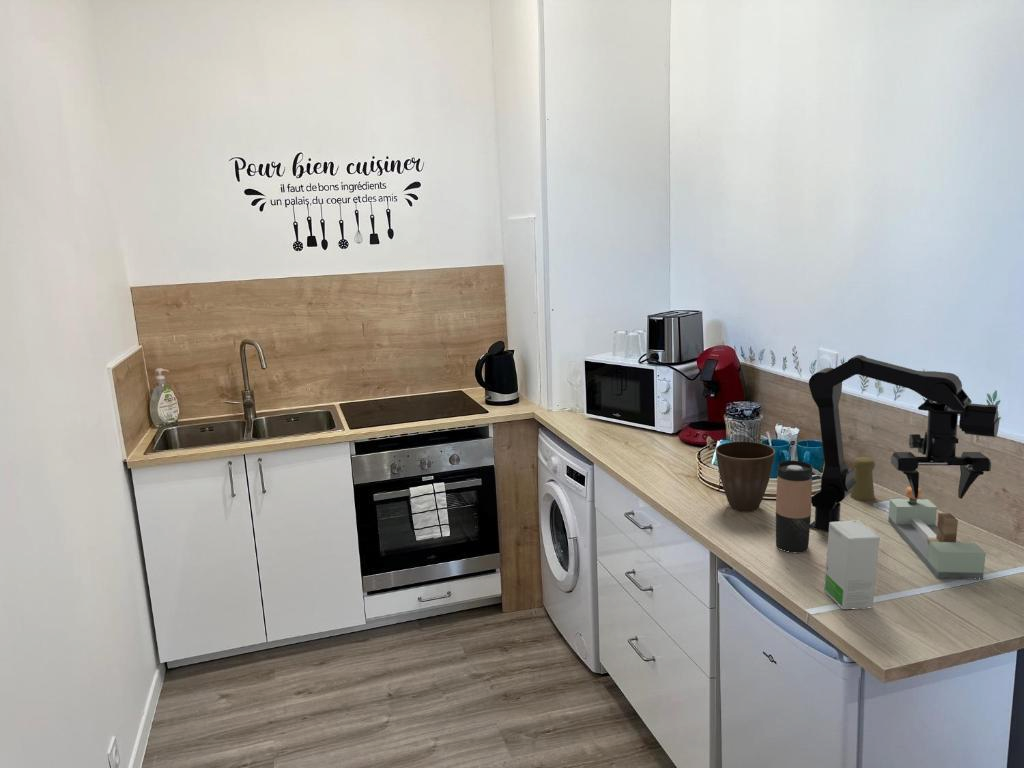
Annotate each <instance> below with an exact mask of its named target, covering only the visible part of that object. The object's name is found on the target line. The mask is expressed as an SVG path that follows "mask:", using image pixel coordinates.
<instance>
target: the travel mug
mask: <svg viewBox="0 0 1024 768" xmlns="http://www.w3.org/2000/svg"><path fill="white" fill-rule="evenodd" d="M812 488H813V465H812V464H810V463H808V462H805V461H802V460H783V461H781V462H779V463H778V464H777V478H776V497H775V499H776V502H775V546H776V548H777V547H778V548H780V549H782V550H785V551H789V552H802V553H805V552H807V551H808V550H809V544H810V543H809V542H810V530H811V527H810V524H811V521H812V519H811V517H812V503H811V497H812V496H813V494H812V493H813V490H812ZM778 548H777V549H778ZM780 549H779V550H780ZM807 549H808V550H807ZM782 550H781V551H782ZM806 550H807V551H806ZM785 551H784V552H785ZM804 551H805V552H804ZM789 552H788V553H789Z"/></svg>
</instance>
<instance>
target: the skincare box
mask: <svg viewBox="0 0 1024 768" xmlns="http://www.w3.org/2000/svg"><path fill="white" fill-rule="evenodd" d="M880 538H881V537H880V536H879V535H877V534H876V533H875V532H873V530H871V527H869V526H866V525H865V524H863V523H862V522H861V521H860V520H859V519H853V520H842V521H841V520H840V521H838V522H829V532H828V538H827V552H826V559H825V560H826V561H825V571H824V572H825V573H824V585H823V591H824V593H826V594H827V596H830V597H831V598H832V599H833V600H834V601H836V602H837V603H838V604H839V605H840V606H841V607H842V608H843V609H852V608H867V609H869V608H868V607H873V608H874V596H875V586H876V578H877V568H878V567H877V566H878V559H879V549H880V548H879V547H880V540H881V539H880ZM830 597H829V598H830ZM831 598H830V599H831ZM834 601H833V602H834Z"/></svg>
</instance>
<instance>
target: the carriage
mask: <svg viewBox="0 0 1024 768" xmlns="http://www.w3.org/2000/svg"><path fill="white" fill-rule="evenodd" d="M958 522H959V520H958V519H957V518H956V517H955V516H954V515H952V513H949V512H947V513H946V512H945V513H944V512H938V514H937V524H936V526H937V536H936V538H930V537H927V541H926V544H927V545H928V546H930V542H960V541H959V539H957V535H958V526H959V525H958V524H959V523H958Z"/></svg>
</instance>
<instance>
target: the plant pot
mask: <svg viewBox="0 0 1024 768" xmlns="http://www.w3.org/2000/svg"><path fill="white" fill-rule="evenodd" d="M775 450H776V449H774V448H773V447H771V446H770V445H768V444H764V443H759V442H755V441H729V442H724V443H721V444H719V445H717V446H716V447H715V456H716V463H717V469H718V472H719V477H720V481H721V485H722V488H723V491H724V494H725V496H726V499H727V503H728V505H729V507H730V509H732V510H734V511H738V512H743V513H744V512H746V513H747V512H755V511H757V510H758V509H759V507H760V505H761V504H762V501H763V498H764V496H765V494H766V491H767V488H768V484H769V481H770V479H771V478H770V477H771V475H772V474H771V473H772V469H773V465H774V460H775V455H776V454H775V453H776V451H775Z"/></svg>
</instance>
